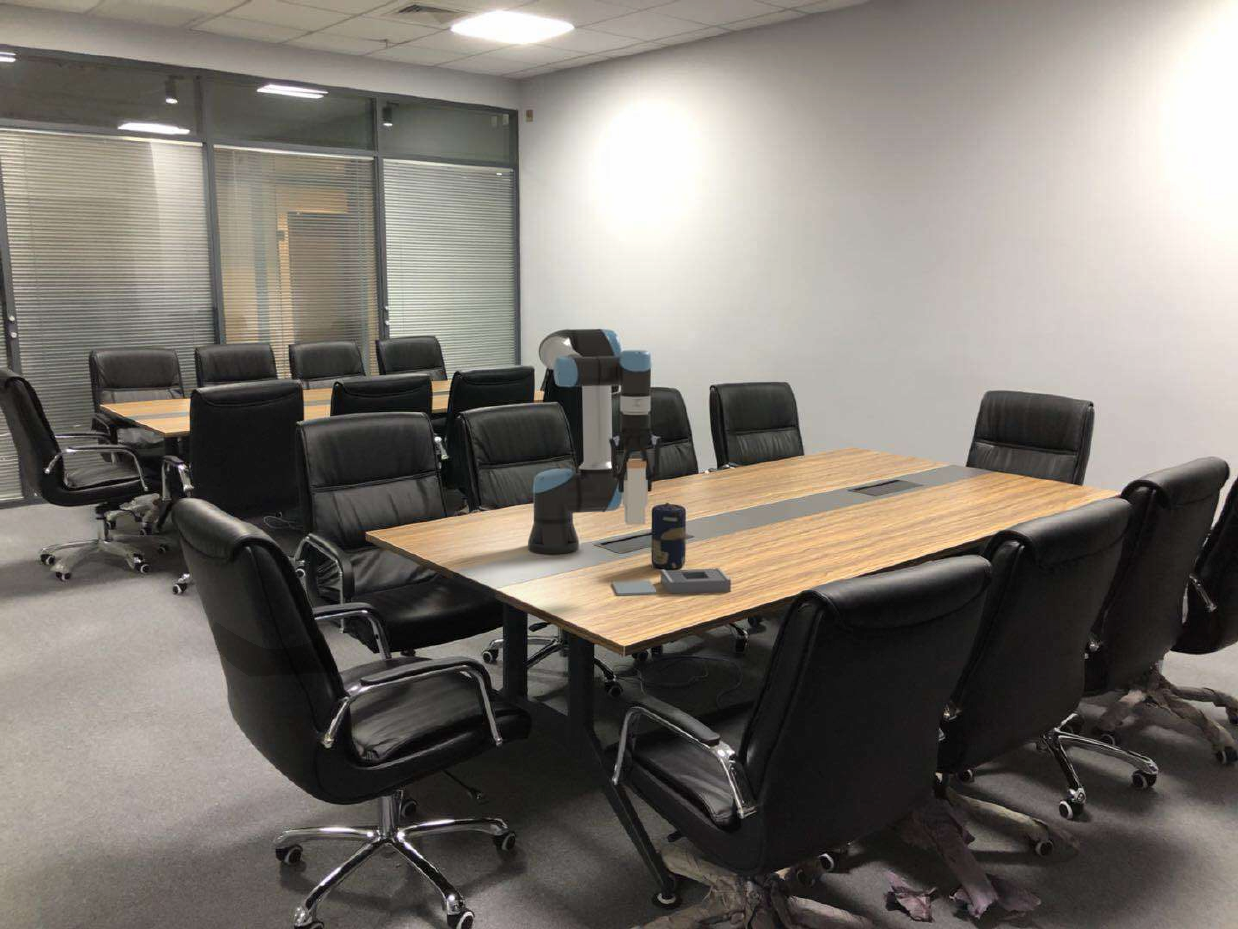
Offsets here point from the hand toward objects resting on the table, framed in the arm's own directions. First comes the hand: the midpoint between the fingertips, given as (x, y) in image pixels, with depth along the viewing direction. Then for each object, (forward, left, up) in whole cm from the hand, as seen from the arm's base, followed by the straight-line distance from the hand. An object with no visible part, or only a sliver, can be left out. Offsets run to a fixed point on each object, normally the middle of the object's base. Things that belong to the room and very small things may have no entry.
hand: (634, 504), depth 245 cm
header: (+16, 0, -22) cm, 27 cm away
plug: (0, 0, -5) cm, 5 cm away
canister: (+13, +20, -22) cm, 33 cm away
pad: (0, 0, -22) cm, 22 cm away
